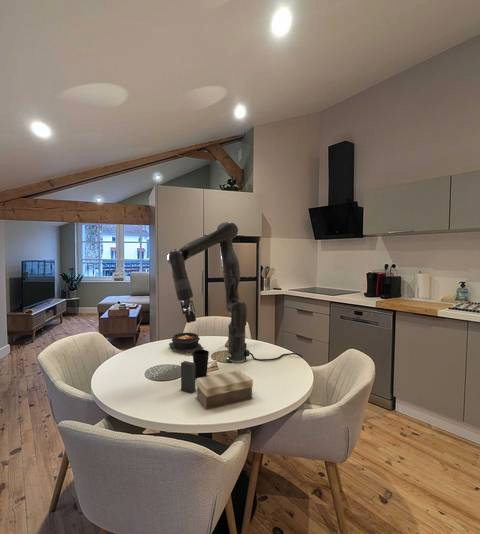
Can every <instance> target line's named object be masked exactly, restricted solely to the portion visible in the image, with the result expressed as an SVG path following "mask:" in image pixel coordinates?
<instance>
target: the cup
mask: <svg viewBox="0 0 480 534" xmlns="http://www.w3.org/2000/svg"><path fill="white" fill-rule="evenodd" d="M209 354H210V351H209V350H207V349H202V350H195V351H193V352H192V363H195V380H197V378H201V377H206V376H208V366H209V357H210V356H209Z"/></svg>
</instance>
